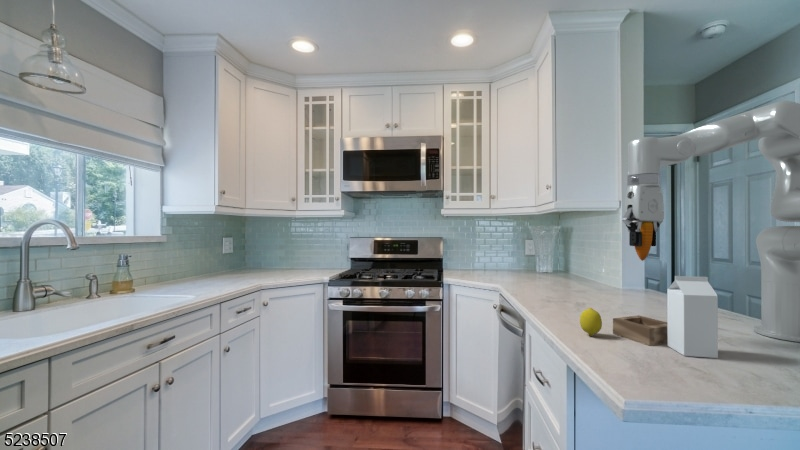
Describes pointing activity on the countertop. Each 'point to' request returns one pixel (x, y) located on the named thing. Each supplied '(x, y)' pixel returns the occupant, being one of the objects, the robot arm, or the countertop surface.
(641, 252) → the carrot
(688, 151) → the robot arm
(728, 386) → the countertop surface
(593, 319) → the lemon
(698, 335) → the milk carton
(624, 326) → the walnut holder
